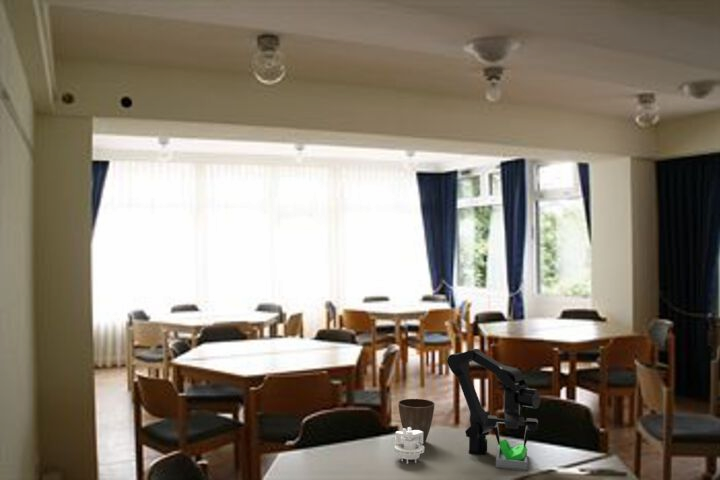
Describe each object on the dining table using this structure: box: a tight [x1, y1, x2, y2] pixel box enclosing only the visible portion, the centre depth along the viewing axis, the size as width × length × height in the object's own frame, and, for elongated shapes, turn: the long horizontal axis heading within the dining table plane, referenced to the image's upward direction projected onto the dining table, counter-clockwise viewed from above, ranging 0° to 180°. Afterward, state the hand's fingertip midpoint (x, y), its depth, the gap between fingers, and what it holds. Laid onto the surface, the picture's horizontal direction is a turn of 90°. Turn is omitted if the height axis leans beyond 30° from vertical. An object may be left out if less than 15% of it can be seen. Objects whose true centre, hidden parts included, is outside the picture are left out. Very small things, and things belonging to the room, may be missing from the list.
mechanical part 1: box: [394, 427, 425, 465], centre depth 237 cm, size 11×12×12 cm
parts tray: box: [495, 444, 528, 472], centre depth 237 cm, size 11×17×3 cm, turn 166°
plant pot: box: [397, 398, 436, 445], centre depth 259 cm, size 15×15×16 cm
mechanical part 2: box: [499, 438, 528, 460], centre depth 237 cm, size 12×6×8 cm, turn 157°
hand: (511, 445), depth 237 cm, fingers open, 9 cm apart
